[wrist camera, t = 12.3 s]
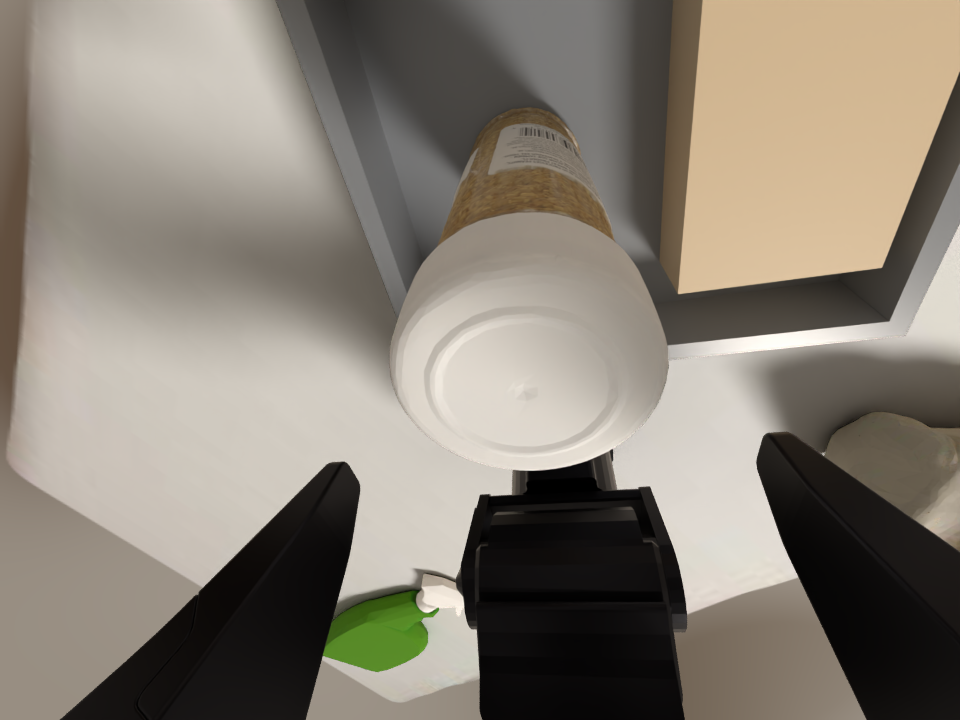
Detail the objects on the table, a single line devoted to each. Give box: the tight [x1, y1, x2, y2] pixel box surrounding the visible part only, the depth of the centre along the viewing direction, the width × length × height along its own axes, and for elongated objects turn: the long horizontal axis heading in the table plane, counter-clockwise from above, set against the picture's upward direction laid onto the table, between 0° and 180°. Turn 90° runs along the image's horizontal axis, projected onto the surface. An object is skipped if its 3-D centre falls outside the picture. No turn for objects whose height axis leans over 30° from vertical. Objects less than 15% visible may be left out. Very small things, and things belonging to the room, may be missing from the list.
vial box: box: [659, 0, 960, 294], centre depth 14 cm, size 10×7×3 cm
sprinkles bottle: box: [389, 107, 669, 471], centre depth 12 cm, size 5×5×13 cm
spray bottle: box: [323, 573, 464, 672], centre depth 48 cm, size 3×11×25 cm
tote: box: [276, 0, 960, 360], centre depth 15 cm, size 16×20×4 cm
